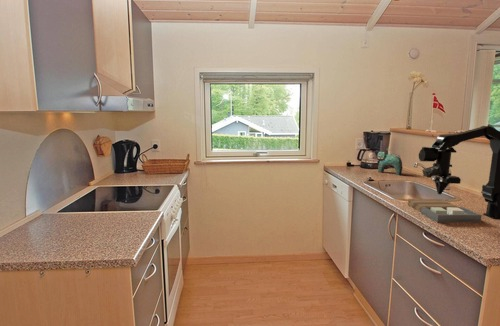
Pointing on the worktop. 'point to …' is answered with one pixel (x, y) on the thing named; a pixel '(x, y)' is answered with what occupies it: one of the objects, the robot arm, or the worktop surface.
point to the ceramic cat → (389, 162)
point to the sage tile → (438, 210)
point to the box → (453, 216)
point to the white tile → (454, 210)
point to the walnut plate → (429, 204)
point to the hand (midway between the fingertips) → (439, 194)
